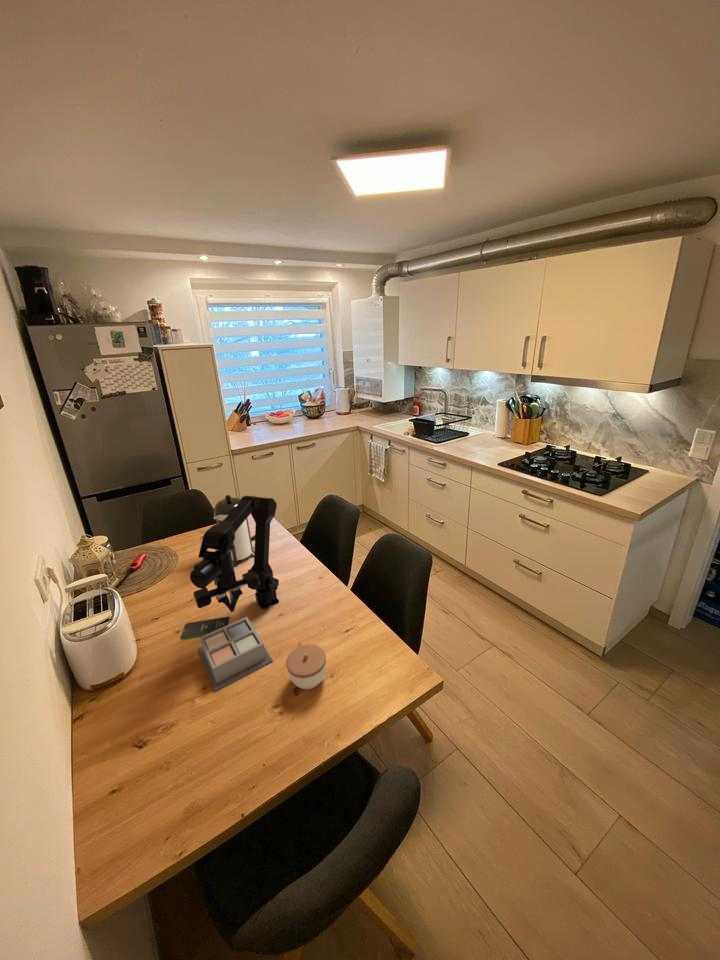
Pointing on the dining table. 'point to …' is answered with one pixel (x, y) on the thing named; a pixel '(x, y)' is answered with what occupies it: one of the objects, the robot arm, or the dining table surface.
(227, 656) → the key terracotta
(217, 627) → the smartphone
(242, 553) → the coffee press
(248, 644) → the key sage
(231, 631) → the key slate
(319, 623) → the dining table surface
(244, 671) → the keypad base
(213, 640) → the key cream
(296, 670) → the lidded jar
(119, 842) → the dining table surface
